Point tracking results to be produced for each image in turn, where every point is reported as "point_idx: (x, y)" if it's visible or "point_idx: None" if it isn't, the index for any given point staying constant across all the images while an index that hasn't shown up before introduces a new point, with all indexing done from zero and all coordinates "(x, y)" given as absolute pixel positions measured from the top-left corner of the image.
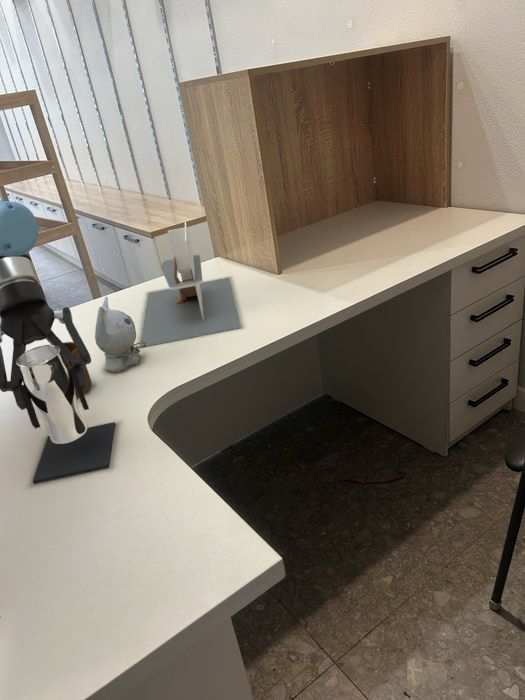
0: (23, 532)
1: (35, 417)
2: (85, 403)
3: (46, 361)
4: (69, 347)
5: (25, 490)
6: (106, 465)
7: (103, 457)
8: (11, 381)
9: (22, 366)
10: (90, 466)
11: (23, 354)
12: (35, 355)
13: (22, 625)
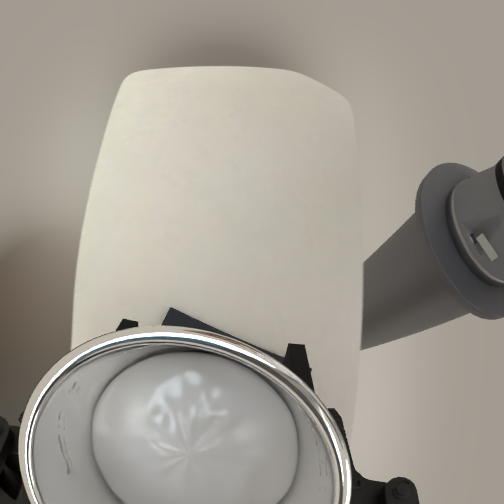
0: (338, 254)
1: (288, 366)
2: (125, 322)
3: (140, 329)
4: None
5: (326, 360)
6: (173, 308)
7: None
8: (357, 494)
9: (322, 404)
10: (200, 327)
11: None
12: None
13: (341, 133)
